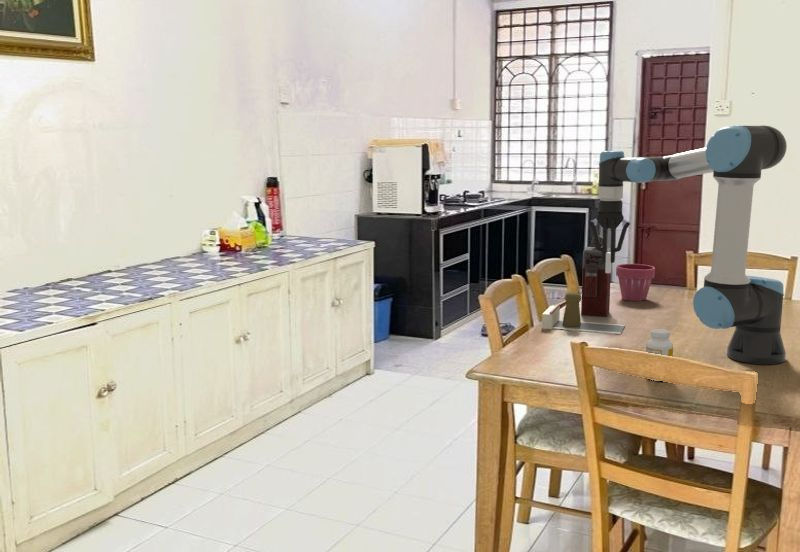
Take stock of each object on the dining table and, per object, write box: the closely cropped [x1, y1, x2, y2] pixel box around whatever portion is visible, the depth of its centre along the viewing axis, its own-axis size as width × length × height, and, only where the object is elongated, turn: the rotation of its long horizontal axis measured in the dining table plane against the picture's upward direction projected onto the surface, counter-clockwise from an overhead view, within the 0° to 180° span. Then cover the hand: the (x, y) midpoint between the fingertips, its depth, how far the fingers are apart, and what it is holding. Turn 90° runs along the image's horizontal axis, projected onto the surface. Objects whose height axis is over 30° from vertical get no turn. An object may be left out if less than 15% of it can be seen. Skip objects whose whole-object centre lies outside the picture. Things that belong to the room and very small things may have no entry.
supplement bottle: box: [645, 328, 674, 382], centre depth 205 cm, size 7×7×13 cm
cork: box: [562, 291, 582, 327], centre depth 262 cm, size 6×6×11 cm
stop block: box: [541, 303, 561, 330], centre depth 265 cm, size 14×3×6 cm, turn 158°
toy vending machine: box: [580, 235, 612, 318], centre depth 277 cm, size 9×11×28 cm
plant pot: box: [615, 263, 656, 302], centre depth 304 cm, size 14×14×13 cm
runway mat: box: [551, 319, 626, 335], centre depth 261 cm, size 12×22×1 cm, turn 68°
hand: (608, 272), depth 256 cm, fingers closed
